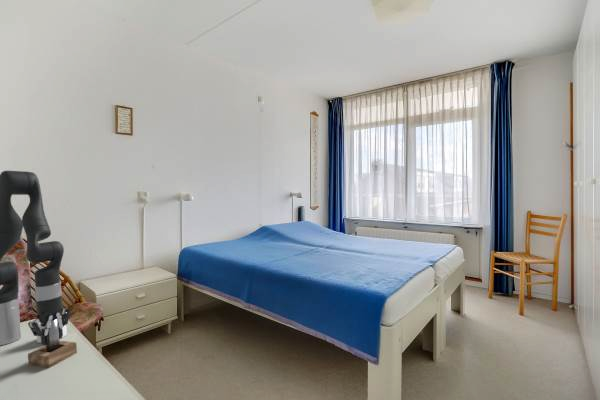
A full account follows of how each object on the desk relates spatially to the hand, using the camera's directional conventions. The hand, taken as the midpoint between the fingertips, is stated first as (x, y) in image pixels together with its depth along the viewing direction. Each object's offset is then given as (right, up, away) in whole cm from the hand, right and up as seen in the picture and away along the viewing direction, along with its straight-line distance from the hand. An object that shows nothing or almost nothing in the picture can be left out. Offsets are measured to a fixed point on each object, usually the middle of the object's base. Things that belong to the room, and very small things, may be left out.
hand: (52, 341), depth 113 cm
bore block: (0, -6, 0) cm, 6 cm away
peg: (0, -4, 0) cm, 4 cm away
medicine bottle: (-13, -7, +16) cm, 22 cm away
